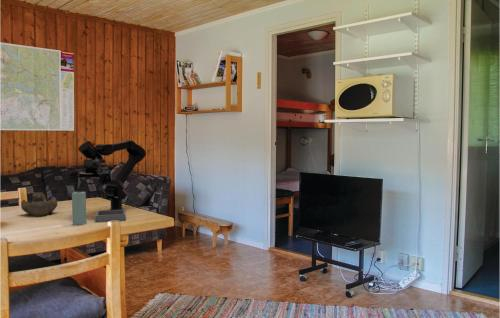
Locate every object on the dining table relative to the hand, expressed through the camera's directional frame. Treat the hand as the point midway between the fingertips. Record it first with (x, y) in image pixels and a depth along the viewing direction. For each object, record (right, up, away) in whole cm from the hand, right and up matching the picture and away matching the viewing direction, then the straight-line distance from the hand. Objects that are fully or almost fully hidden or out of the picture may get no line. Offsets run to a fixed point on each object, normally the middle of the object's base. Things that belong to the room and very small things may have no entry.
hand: (86, 189), depth 195 cm
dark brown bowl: (-29, -14, +14) cm, 35 cm away
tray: (+10, -14, +4) cm, 17 cm away
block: (-1, -15, -7) cm, 16 cm away
